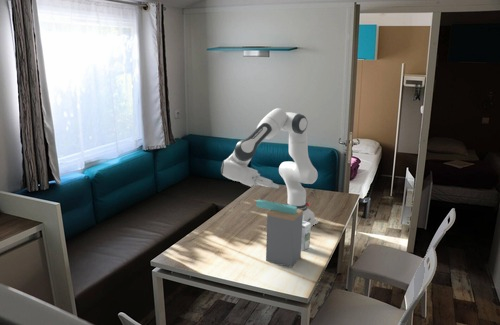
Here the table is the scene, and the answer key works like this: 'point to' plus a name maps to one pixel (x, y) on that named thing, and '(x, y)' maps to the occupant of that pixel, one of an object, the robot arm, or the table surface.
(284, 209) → the teal batten
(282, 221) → the pedestal
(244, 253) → the table surface
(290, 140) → the robot arm
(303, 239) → the syrup box
